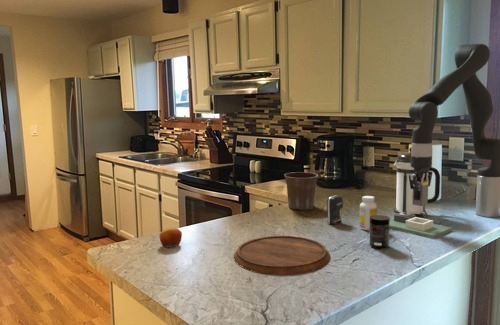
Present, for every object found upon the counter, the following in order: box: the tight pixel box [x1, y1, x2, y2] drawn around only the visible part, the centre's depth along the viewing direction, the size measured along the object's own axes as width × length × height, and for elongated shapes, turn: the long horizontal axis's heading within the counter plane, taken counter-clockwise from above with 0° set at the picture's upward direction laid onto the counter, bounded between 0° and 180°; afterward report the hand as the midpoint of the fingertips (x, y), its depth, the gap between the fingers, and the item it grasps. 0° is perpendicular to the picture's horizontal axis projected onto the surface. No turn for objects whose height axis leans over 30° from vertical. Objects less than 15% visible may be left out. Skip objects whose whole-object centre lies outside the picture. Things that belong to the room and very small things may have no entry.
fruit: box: [159, 227, 183, 248], centre depth 155 cm, size 8×8×8 cm
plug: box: [412, 181, 429, 207], centre depth 164 cm, size 4×4×9 cm
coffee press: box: [393, 147, 441, 218], centre depth 188 cm, size 17×16×30 cm
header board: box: [389, 212, 453, 239], centre depth 168 cm, size 14×22×5 cm, turn 40°
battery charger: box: [326, 195, 344, 225], centre depth 178 cm, size 7×4×11 cm, turn 134°
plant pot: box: [283, 171, 319, 211], centre depth 206 cm, size 16×16×16 cm
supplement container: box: [368, 214, 391, 250], centre depth 149 cm, size 7×7×10 cm
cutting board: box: [233, 235, 331, 276], centre depth 143 cm, size 32×32×3 cm
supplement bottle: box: [359, 195, 378, 231], centre depth 169 cm, size 7×7×13 cm
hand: (420, 198), depth 164 cm, fingers closed on plug, 4 cm apart
